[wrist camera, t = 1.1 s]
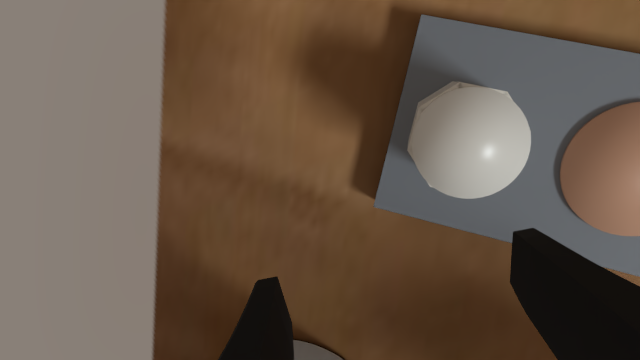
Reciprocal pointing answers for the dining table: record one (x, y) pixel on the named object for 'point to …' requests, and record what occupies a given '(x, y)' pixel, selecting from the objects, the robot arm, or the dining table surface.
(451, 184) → the cap
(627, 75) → the post board
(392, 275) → the dining table surface
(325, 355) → the utensil holder
